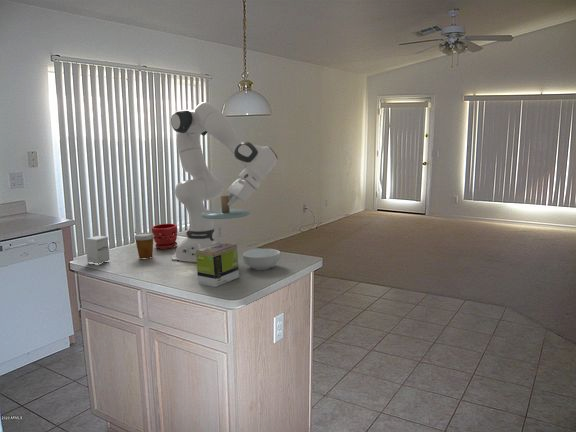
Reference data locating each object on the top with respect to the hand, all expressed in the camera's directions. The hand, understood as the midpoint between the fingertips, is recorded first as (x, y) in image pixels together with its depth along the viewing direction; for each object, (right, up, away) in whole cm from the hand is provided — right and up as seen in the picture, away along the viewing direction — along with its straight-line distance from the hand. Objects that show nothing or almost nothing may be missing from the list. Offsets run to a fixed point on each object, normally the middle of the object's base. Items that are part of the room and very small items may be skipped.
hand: (226, 204), depth 204 cm
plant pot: (-41, -22, +62) cm, 77 cm away
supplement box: (-66, -28, +33) cm, 79 cm away
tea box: (-3, -32, +1) cm, 32 cm away
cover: (0, -4, 0) cm, 4 cm away
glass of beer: (-46, -26, +41) cm, 66 cm away
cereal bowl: (+14, -28, +19) cm, 37 cm away
